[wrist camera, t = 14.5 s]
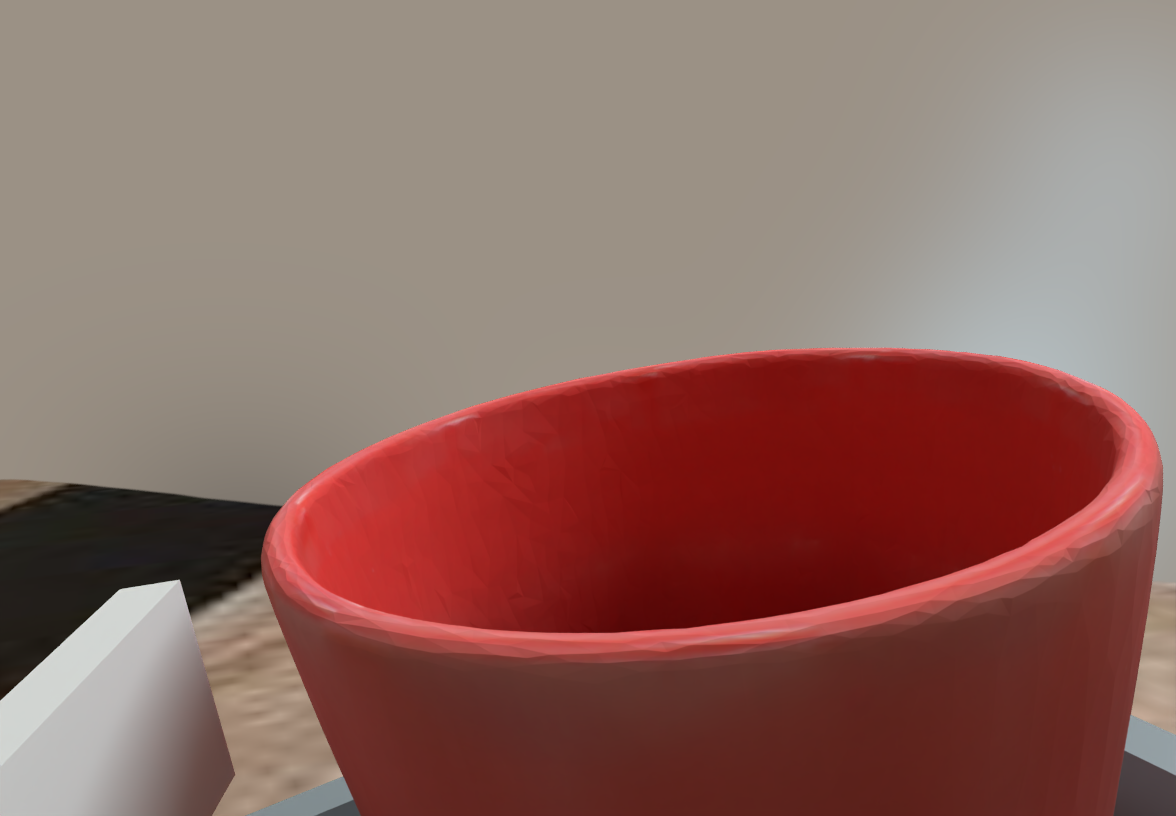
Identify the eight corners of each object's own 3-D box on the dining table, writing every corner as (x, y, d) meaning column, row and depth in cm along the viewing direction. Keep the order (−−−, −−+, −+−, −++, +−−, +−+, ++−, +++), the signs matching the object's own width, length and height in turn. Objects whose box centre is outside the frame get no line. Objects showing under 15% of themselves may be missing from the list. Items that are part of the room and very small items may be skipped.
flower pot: (1064, 811, 20) (1029, 304, 17) (1370, 1588, 9) (1385, 588, 7) (525, 827, 22) (430, 382, 20) (290, 1464, 12) (32, 682, 9)
